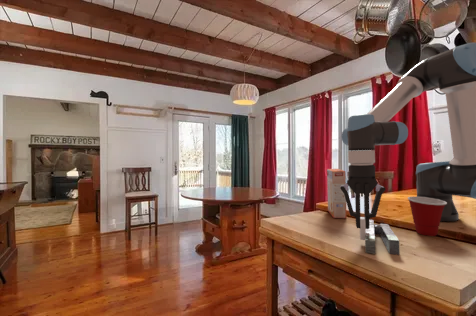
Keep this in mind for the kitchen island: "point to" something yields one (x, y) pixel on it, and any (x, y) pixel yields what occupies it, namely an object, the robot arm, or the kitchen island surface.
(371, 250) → the bar
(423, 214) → the plastic cup
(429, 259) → the kitchen island surface
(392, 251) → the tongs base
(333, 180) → the cracker box
